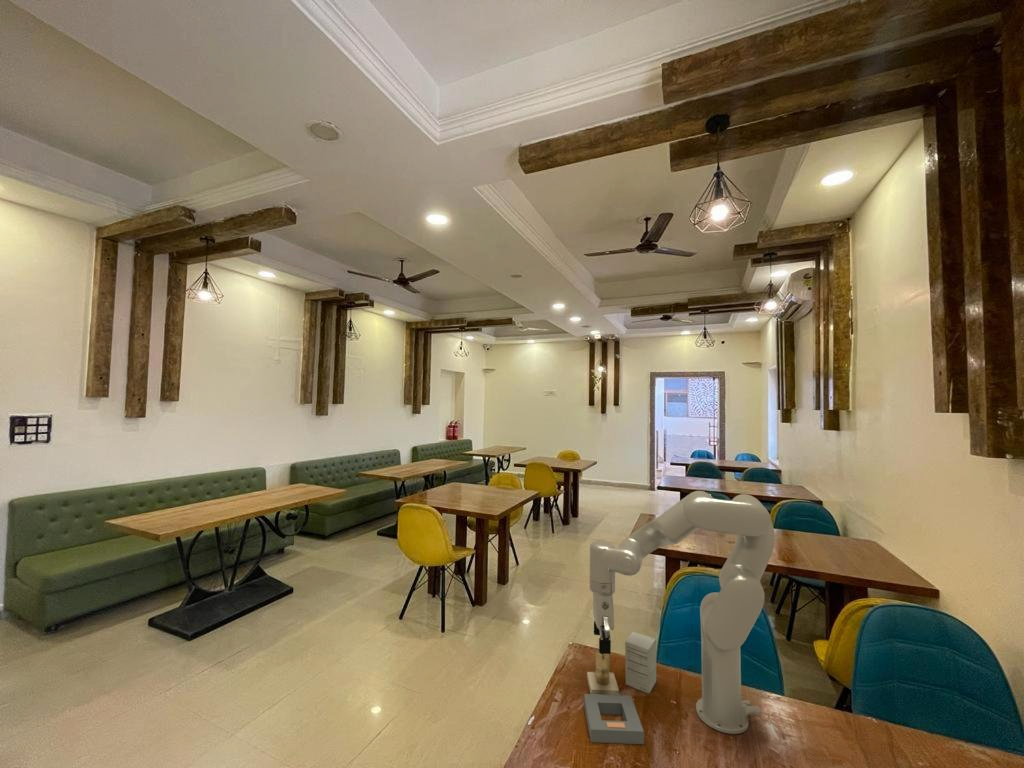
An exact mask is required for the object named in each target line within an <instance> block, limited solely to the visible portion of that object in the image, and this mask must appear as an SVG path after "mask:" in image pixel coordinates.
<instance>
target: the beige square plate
mask: <svg viewBox="0 0 1024 768" xmlns="http://www.w3.org/2000/svg"><path fill="white" fill-rule="evenodd" d="M615 676H616V675H615V673H614V672H610V683H609V684H608V685H600V684H598V683H597V682H596V671H595V672H594V671H586V677H587V678H586V680H587V684H588V689H589V694H601V695H620V689H619V686H618V683H617V680H616V677H615Z"/></svg>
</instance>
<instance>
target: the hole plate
mask: <svg viewBox="0 0 1024 768" xmlns="http://www.w3.org/2000/svg"><path fill="white" fill-rule="evenodd" d="M583 708H584V713H585V718H586V723H587V729H588V735H589V740H590V742H591V743H603V744H607V743H608V744H627V745H645V730H644V728H643V725H642V722H641V720H640V717H639V714H638V712H637V709H636V706H635V703H634V700H633V698H632V695H626V694H624V695H623V694H619V695H601V694H590V693H583ZM602 715H613V716H614V715H616V716H621V717H622V720H604V719H603V720H602Z"/></svg>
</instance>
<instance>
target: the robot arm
mask: <svg viewBox="0 0 1024 768" xmlns="http://www.w3.org/2000/svg"><path fill="white" fill-rule="evenodd" d="M699 529H700V530H702V531H708V532H715V533H720V534H728V535H735V536H737V537H736V540H735V541H734V542H735V543H734V545H733V547H732V549H731V551H730V553H729V555H728V556H727V559H726V561H725V562H724V564H723V566H722V568H721V569H720V570H719V571H720V572H719V574H718V581H719V586H720V590H719V592H718V591H717V592H714V591H713V592H710V593H708V594H706V595H705V596H704V597H703V599H702V600H701V602H700V607H699V616H700V637H701V638H700V639H701V643H700V644H701V647H700V649H701V655H700V656H701V698H699V699H698V700H697V701H696V704H695V711H696V714H697V716H698V717H699V719H701V721H702V722H703V723H705V724H706V725H707V726H708V727H710V728H712V729H713V730H716V731H718V732H720V733H725V734H729V735H737V734H742V733H744V732H745V731H747V730H748V728H749V718H748V717H749V716H750V715H758V716H759V715H760V716H761V715H762V710H761V708H760V706H759V705H751V700H746V699H743V700H742V675H741V674H742V671H741V665H742V663H741V660H742V659H741V657H742V656H741V646H742V645H744V643H745V641H746V640H747V638H748V636H749V635H750V632H751V631H752V629H753V627H754V625H755V624H756V622H757V619H758V618H759V616H760V614H761V612H762V610H763V608H764V603H765V591H764V588H763V586H762V583H761V579H762V577H763V574H764V572H765V570H766V569H767V566H768V564H769V562H770V559H771V557H772V554H773V551H774V548H775V541H776V540H775V539H776V538H775V537H776V535H775V529H774V525H773V522H772V517H771V514H770V513H769V511H768V510H767V508H766V507H765V505H763V504H762V502H761V501H760V500H759V499H758V498H756V497H755V496H752V495H751V494H750V495H749V494H747V493H745V494H744V493H742V494H738V495H736V496H734V497H733V498H732V499H731V500H727V499H719V498H714V497H713V496H712V495H711V494H710V493H708V492H705V491H704V490H695V491H692V492H690V493H689V494H687V495H686V496H685V497H683V498H682V499H680V500H679V501H678V502H676V503H675V504H674V505H672V506H671V507H670V508H669V509H667V510H666V511H664V512H663V513H661V514H660V515H658V516H657V517H656V518H654V519H652V520H651V521H649V522H647V523H646V524H645V525H642V526H641V527H640V528H638V529H636V530H635V531H634V532H633V533H631V534H630V535H628V536H627V537H626V538H624V539H623V540H622V541H621V542H620V543H619V545H618V547H615V545H614V543H612V542H610V541H607V540H594V541H592V542H591V543H590V545H589V590H590V591H591V592H592V613H593V614H592V615H593V618H594V619H593V620H594V621H593V635H595V636H599V637H600V638H598V649H599V653H600V654H611V653H612V651H611V650H612V649H611V648H612V647H611V646H612V644H611V643H612V639H611V631H614V630H615V611H614V597H613V595H614V594H615V593H616V573H619V574H620V575H624V576H629V577H631V576H635V575H637V574H638V573H639V572H640V571H641V568H642V565H643V564H642V563H643V560H644V558H645V557H647V556H648V555H650V554H651V553H653V552H654V551H656V550H657V549H659V548H661V547H663V546H670V545H671V546H672V545H673V546H674V545H678V544H679V543H681V542H682V541H684V540H685V539H686V538H687V537H689V536H690V535H692V534H693V533H695V532H696V531H698V530H699ZM610 630H611V631H610Z"/></svg>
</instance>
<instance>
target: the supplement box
mask: <svg viewBox="0 0 1024 768" xmlns="http://www.w3.org/2000/svg"><path fill="white" fill-rule="evenodd" d="M624 645H625V646H624V648H625V651H624V652H625V653H624V654H625V655H624V656H625V661H624V662H625V664H624V666H625V667H624V668H625V671H624V672H625V685H626V686H629V687H631V688H634V689H635V690H638V691H641V692H644V693H646V694H650V693H651V692H652V690H653V688H654V686H655V685H656V682H657V639H656V638H654V637H651V636H649V635H647V634H646V635H645V634H642V633H639V632H636V631H632V632H631V634H630V635H629V636H628V638H627V639H626V640H625V642H624Z"/></svg>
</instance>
